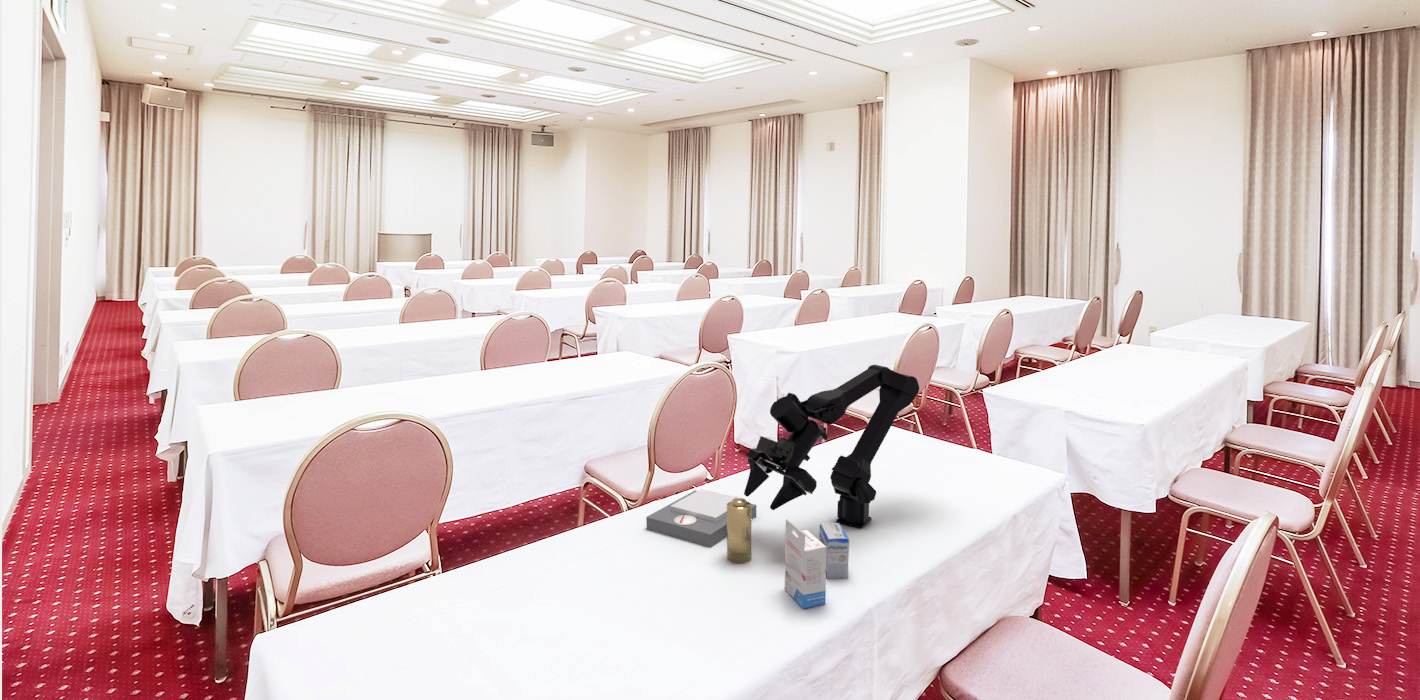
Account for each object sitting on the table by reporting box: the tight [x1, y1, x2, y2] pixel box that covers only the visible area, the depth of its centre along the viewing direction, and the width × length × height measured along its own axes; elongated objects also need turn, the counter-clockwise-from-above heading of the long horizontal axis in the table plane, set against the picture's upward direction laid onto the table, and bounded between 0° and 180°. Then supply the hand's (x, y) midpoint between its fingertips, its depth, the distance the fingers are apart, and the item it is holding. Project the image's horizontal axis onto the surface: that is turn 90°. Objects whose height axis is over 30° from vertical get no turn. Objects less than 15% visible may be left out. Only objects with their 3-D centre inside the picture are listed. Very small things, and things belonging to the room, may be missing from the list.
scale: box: [645, 488, 757, 548], centre depth 177 cm, size 18×20×4 cm
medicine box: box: [818, 522, 850, 580], centre depth 153 cm, size 8×4×9 cm, turn 5°
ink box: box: [784, 518, 827, 610], centre depth 142 cm, size 8×5×15 cm, turn 20°
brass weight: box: [726, 497, 752, 565], centre depth 158 cm, size 5×5×13 cm
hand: (758, 502), depth 160 cm, fingers open, 9 cm apart
